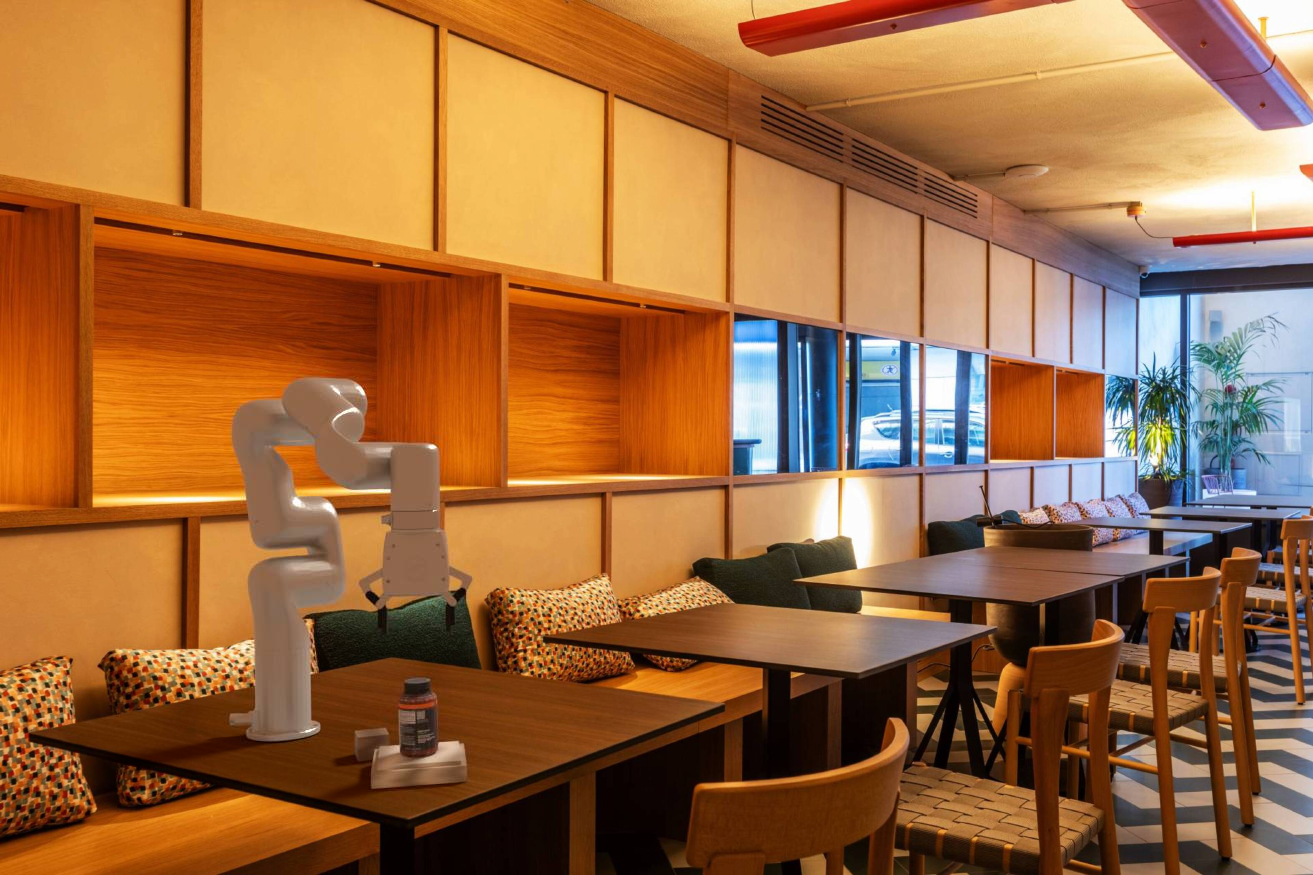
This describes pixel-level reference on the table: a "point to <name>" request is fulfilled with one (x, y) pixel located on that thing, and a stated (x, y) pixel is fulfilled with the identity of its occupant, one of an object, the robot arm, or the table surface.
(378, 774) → the stand
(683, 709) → the table surface
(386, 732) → the beige block
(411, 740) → the supplement bottle
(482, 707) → the table surface
